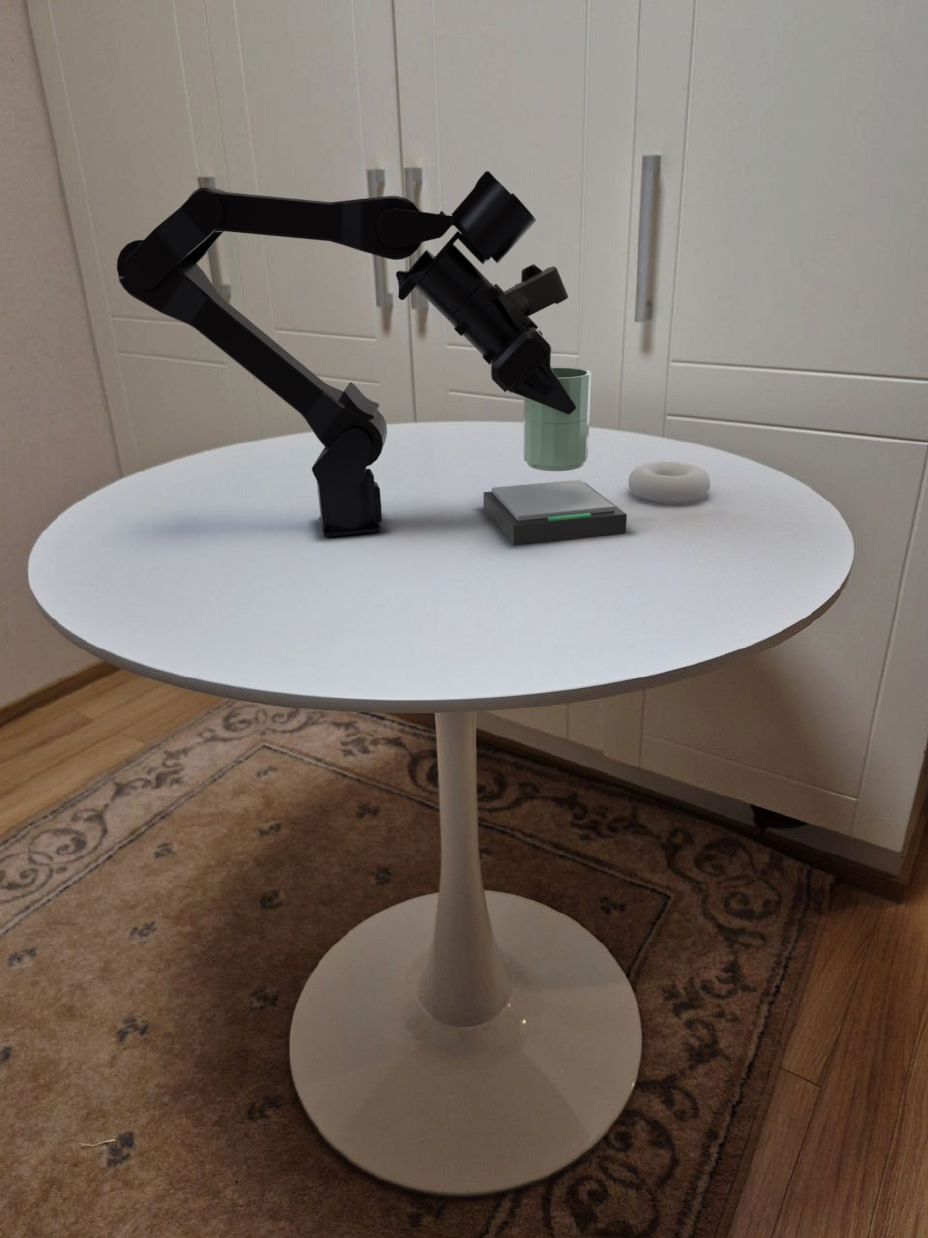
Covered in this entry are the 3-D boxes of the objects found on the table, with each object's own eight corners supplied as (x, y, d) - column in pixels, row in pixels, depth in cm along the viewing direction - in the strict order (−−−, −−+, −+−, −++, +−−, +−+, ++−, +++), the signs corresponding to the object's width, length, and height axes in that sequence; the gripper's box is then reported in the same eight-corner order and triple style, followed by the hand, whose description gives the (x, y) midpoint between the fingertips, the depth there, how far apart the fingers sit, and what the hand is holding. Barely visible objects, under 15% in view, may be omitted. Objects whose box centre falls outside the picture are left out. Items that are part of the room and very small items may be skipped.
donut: (699, 484, 112) (622, 483, 112) (702, 458, 110) (624, 457, 111) (717, 507, 103) (633, 507, 103) (720, 479, 101) (635, 479, 102)
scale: (513, 545, 93) (513, 520, 92) (483, 509, 104) (483, 487, 103) (625, 532, 95) (627, 508, 94) (584, 499, 107) (585, 477, 106)
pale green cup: (562, 475, 92) (565, 380, 88) (510, 465, 96) (511, 373, 92) (599, 462, 97) (603, 371, 92) (548, 452, 101) (550, 365, 97)
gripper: (527, 239, 78) (640, 362, 83) (516, 235, 95) (611, 337, 100) (443, 331, 82) (556, 444, 86) (447, 312, 98) (541, 407, 103)
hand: (569, 404), depth 94 cm, fingers closed on pale green cup, 7 cm apart
